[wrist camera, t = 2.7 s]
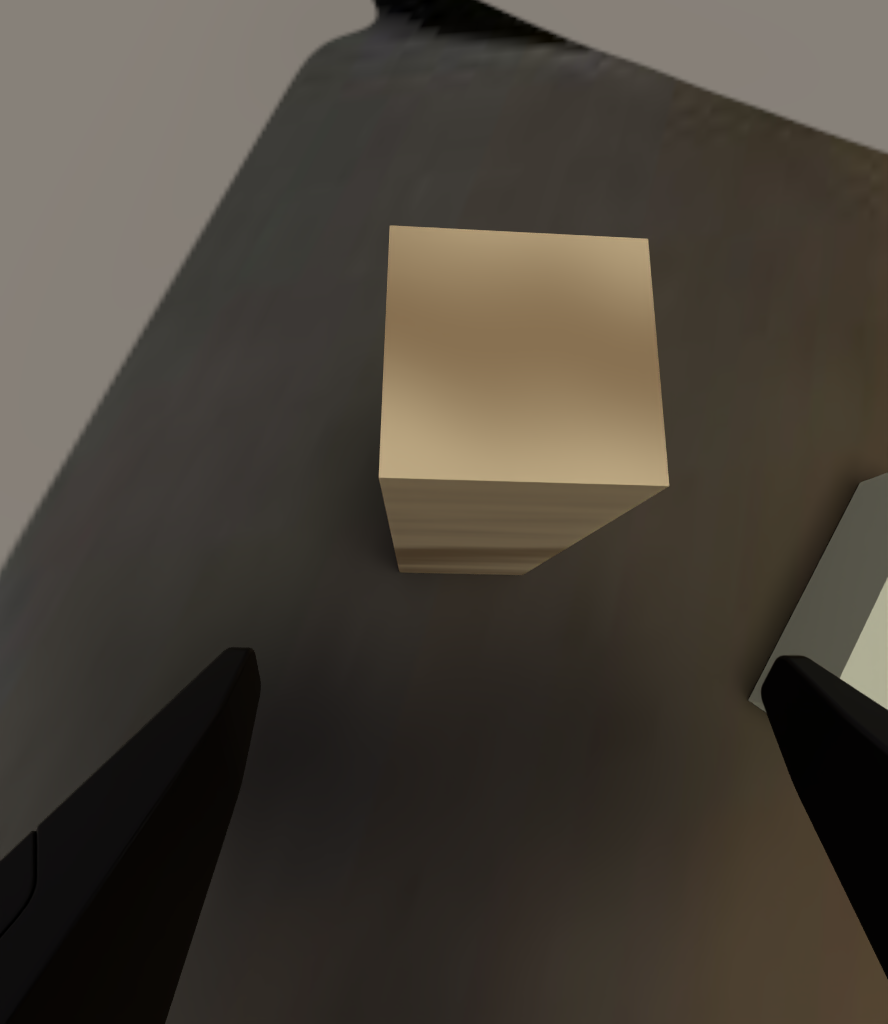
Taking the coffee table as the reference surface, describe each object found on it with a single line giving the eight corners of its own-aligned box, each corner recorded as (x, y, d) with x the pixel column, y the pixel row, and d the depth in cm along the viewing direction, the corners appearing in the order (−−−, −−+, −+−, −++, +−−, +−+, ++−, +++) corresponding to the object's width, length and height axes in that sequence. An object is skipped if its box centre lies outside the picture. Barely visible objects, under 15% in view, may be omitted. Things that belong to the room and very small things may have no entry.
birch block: (522, 575, 22) (669, 485, 9) (399, 572, 22) (378, 477, 9) (520, 458, 23) (648, 238, 10) (403, 454, 23) (389, 225, 10)
